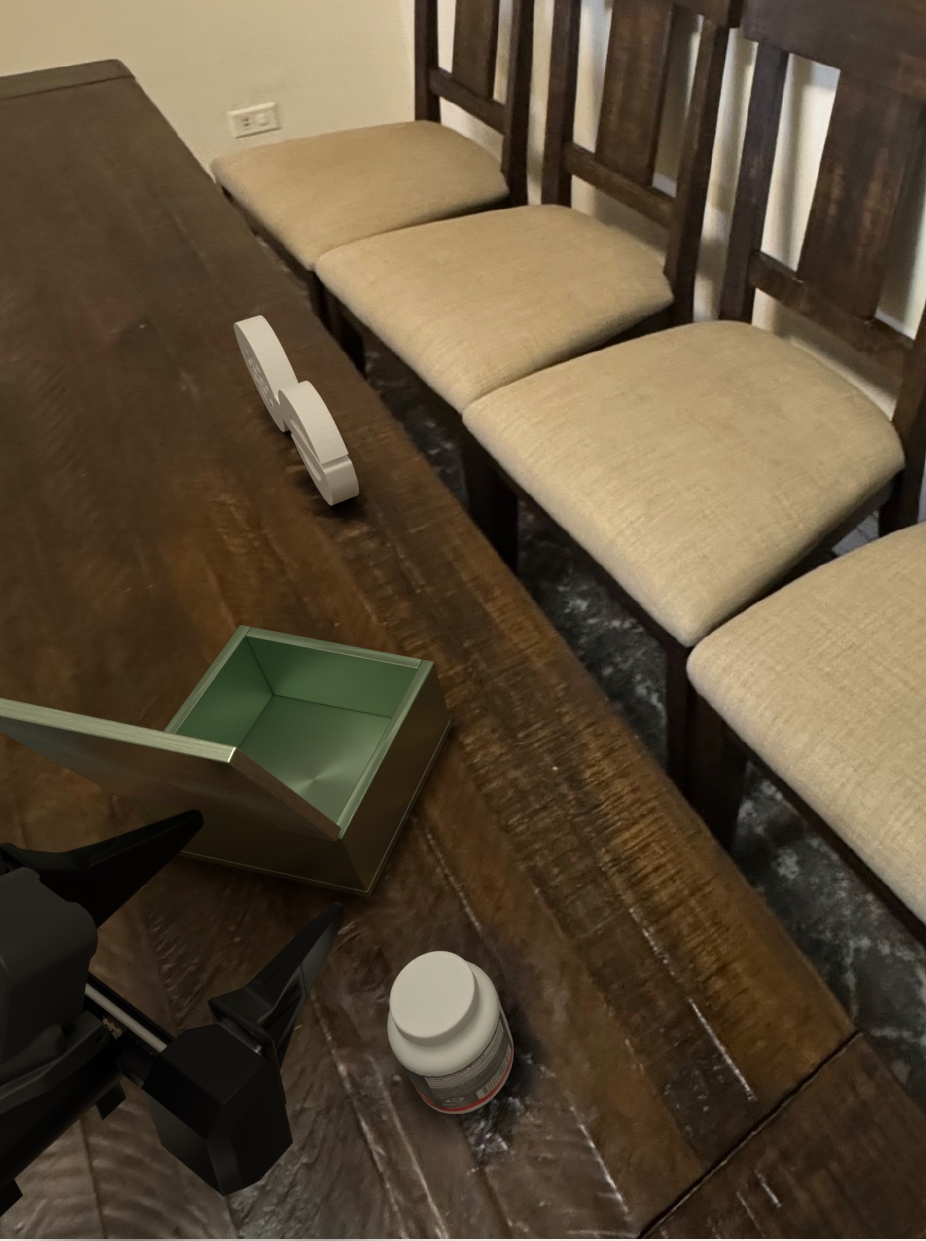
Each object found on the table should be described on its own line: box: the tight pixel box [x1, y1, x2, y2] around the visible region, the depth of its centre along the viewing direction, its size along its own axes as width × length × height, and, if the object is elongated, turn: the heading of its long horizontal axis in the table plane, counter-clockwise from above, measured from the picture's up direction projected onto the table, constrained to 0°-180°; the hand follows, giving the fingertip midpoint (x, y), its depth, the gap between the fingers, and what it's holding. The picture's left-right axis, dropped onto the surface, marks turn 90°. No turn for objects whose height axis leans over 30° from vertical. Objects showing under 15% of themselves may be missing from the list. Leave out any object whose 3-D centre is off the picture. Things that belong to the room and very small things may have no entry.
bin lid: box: [0, 697, 341, 841], centre depth 50 cm, size 13×14×1 cm
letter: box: [233, 314, 360, 506], centre depth 86 cm, size 22×2×10 cm, turn 36°
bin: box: [123, 624, 453, 899], centre depth 63 cm, size 13×14×7 cm
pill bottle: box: [386, 950, 515, 1115], centre depth 51 cm, size 5×5×10 cm
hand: (269, 860), depth 47 cm, fingers open, 9 cm apart
